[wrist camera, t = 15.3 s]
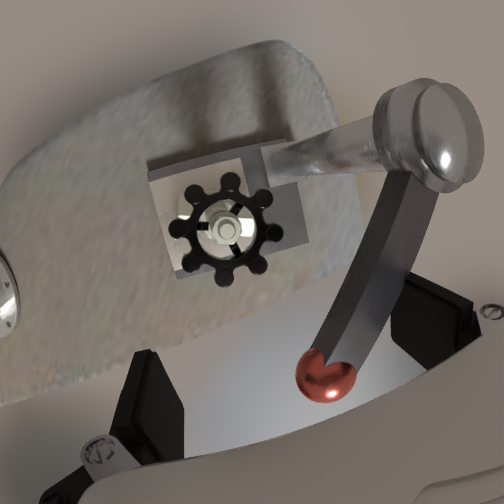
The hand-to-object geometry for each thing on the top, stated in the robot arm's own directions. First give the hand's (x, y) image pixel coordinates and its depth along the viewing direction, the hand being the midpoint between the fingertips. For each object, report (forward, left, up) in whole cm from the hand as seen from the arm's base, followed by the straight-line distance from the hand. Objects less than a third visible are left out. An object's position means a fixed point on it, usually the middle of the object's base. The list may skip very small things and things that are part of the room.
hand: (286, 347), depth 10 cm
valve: (0, +3, -19) cm, 20 cm away
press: (+2, +4, -21) cm, 21 cm away
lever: (+5, +3, -1) cm, 5 cm away
